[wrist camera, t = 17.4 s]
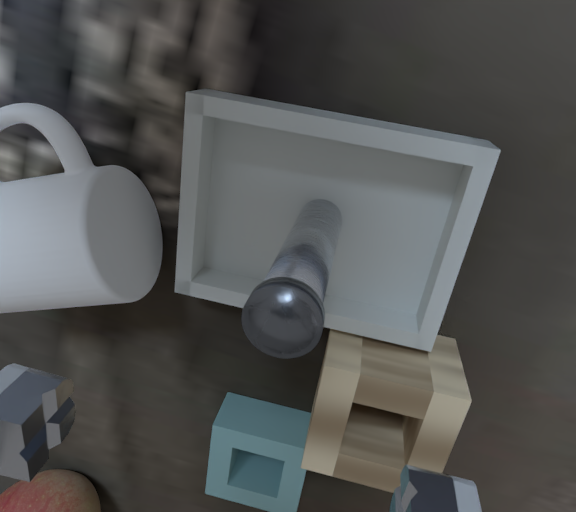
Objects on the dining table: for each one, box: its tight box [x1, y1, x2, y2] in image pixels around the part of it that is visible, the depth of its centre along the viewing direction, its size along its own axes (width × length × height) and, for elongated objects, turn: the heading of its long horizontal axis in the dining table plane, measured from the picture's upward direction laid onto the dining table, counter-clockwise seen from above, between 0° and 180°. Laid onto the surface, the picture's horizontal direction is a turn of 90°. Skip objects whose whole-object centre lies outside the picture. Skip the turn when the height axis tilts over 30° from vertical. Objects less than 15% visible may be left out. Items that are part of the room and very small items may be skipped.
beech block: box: [301, 329, 472, 493], centre depth 29 cm, size 8×8×6 cm
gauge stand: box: [205, 392, 311, 512], centre depth 35 cm, size 7×7×4 cm
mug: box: [0, 103, 163, 313], centre depth 27 cm, size 12×10×8 cm
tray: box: [175, 89, 501, 352], centre depth 27 cm, size 12×16×3 cm
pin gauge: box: [241, 199, 342, 359], centre depth 22 cm, size 3×3×12 cm
